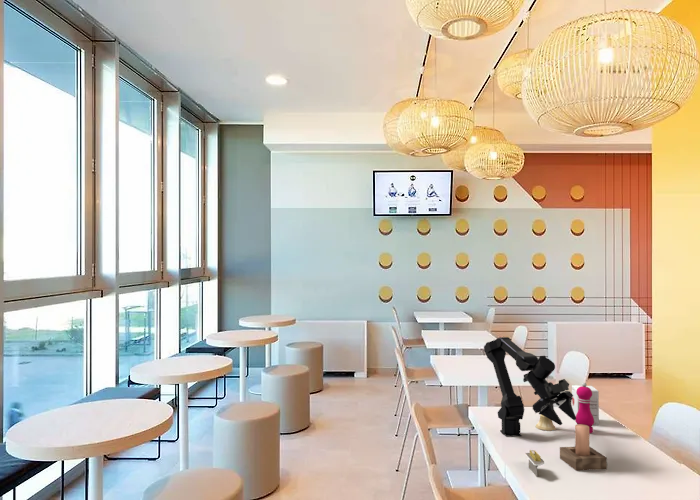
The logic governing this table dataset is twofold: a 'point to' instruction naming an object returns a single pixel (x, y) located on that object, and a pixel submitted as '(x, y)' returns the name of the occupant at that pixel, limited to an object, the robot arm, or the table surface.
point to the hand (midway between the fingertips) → (568, 422)
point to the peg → (582, 440)
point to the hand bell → (545, 424)
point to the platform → (534, 461)
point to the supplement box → (593, 405)
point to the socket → (583, 459)
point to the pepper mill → (584, 407)
